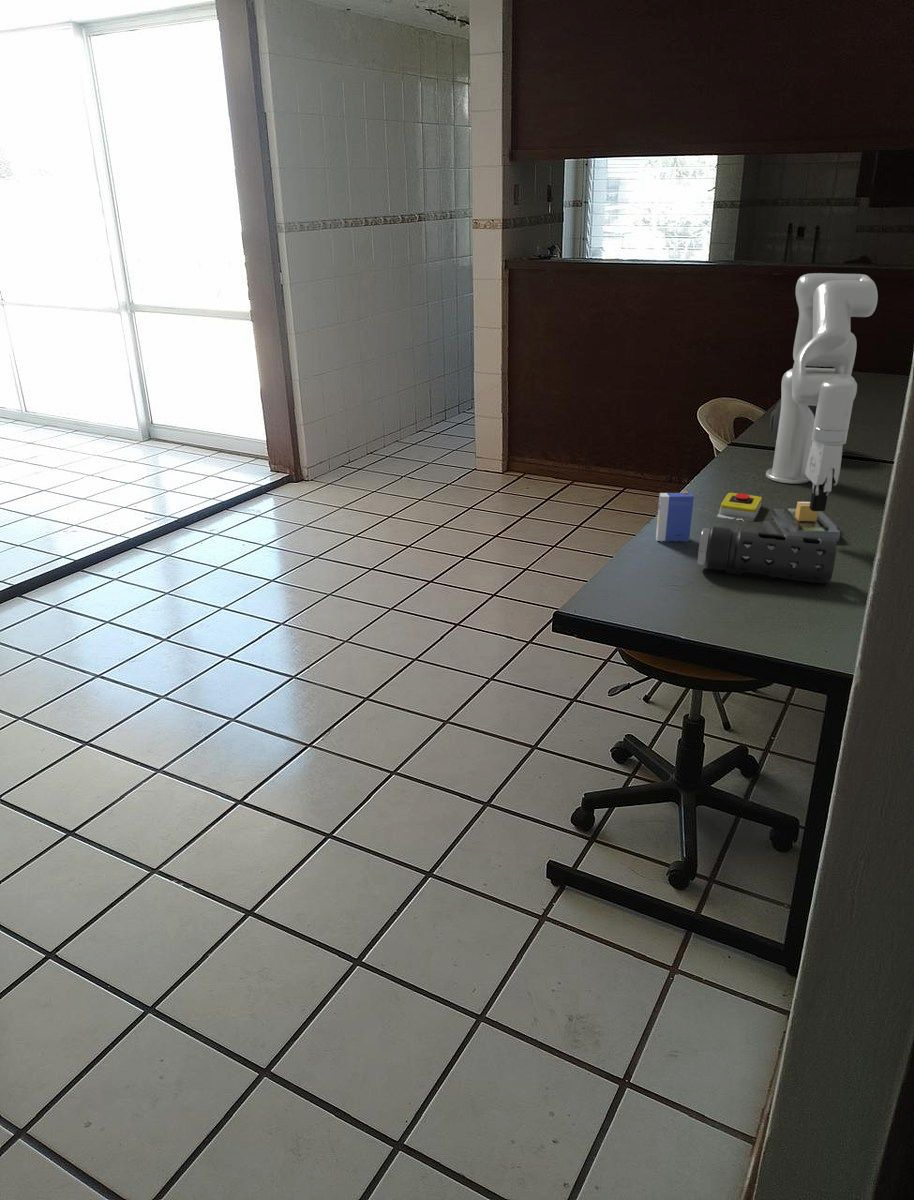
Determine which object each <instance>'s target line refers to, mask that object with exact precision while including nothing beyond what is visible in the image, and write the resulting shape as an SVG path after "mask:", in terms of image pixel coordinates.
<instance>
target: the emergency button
mask: <svg viewBox="0 0 914 1200" xmlns="http://www.w3.org/2000/svg"><path fill="white" fill-rule="evenodd" d="M762 498H763V497H762V496H759V495H753V494H752V495H751V494H747V493H737V492H735V493H734V492H728V493H727V494H726V496H725V497H724V499H723V500H722V502H721V504H720V507H719V512H718V514H717V517H718V518H719V519H725V518H726V519H727V518H728V519H727V520H732V519H734V518H737V519H736V520H735V521H739V520H742V521H741V522H745V521H744V520H743V518H755V517H756V518H757V516H758V514H759V512H760V510H761V509H760V507H761V504H762V501H763V499H762ZM761 508H762V507H761ZM759 509H760V510H759ZM758 511H759V512H758ZM757 513H758V514H757ZM756 515H757V516H756ZM730 516H731V517H730ZM739 517H742V518H740V519H739ZM756 518H755V519H756Z"/></svg>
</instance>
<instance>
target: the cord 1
mask: <svg viewBox="0 0 914 1200" xmlns="http://www.w3.org/2000/svg"><path fill="white" fill-rule="evenodd" d="M763 526H764V527H763ZM762 527H763V529H764V528H765V529H766V530H765V529H764V530H765V532H766V531H767V532H768V533H770V534H779V533H778V531H777V530H776V528H774V526H773V524H772V523H771V522H770V520H763V523H762ZM767 532H766V533H767Z"/></svg>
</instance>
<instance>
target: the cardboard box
mask: <svg viewBox="0 0 914 1200" xmlns="http://www.w3.org/2000/svg"><path fill="white" fill-rule="evenodd" d="M810 502H811V501H797V502H796V503H797V504H796V508H795V509H796V513H795V517H796V519H797V520H798V521H817V515H818V511H812V510H811V509H810Z"/></svg>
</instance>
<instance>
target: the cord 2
mask: <svg viewBox="0 0 914 1200" xmlns="http://www.w3.org/2000/svg"><path fill="white" fill-rule="evenodd" d="M826 517H827V518H828V519H829V520H830V521H831V522H832V523H833V524H834V525H835V527H836V528H837V529H838V530H839V527H840V526H838V525H837V524H836V523H835V522H834V520H833V519H832V518H831V517H830V516H828V515H826Z"/></svg>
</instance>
